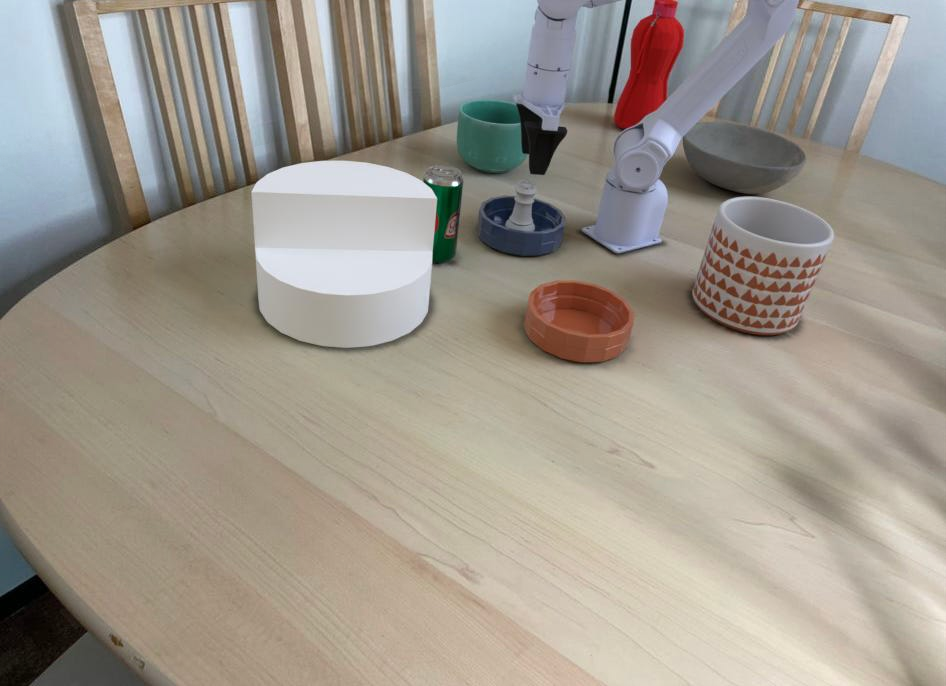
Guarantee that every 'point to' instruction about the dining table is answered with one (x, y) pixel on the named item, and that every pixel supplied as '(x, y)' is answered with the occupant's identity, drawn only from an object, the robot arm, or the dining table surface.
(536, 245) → the slate bowl
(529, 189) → the rook chess piece
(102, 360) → the dining table surface
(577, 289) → the terracotta bowl
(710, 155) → the bowl
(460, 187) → the soda can
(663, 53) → the water bottle
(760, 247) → the planter
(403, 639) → the dining table surface
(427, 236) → the stepped white cylinder
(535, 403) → the dining table surface
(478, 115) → the mug
